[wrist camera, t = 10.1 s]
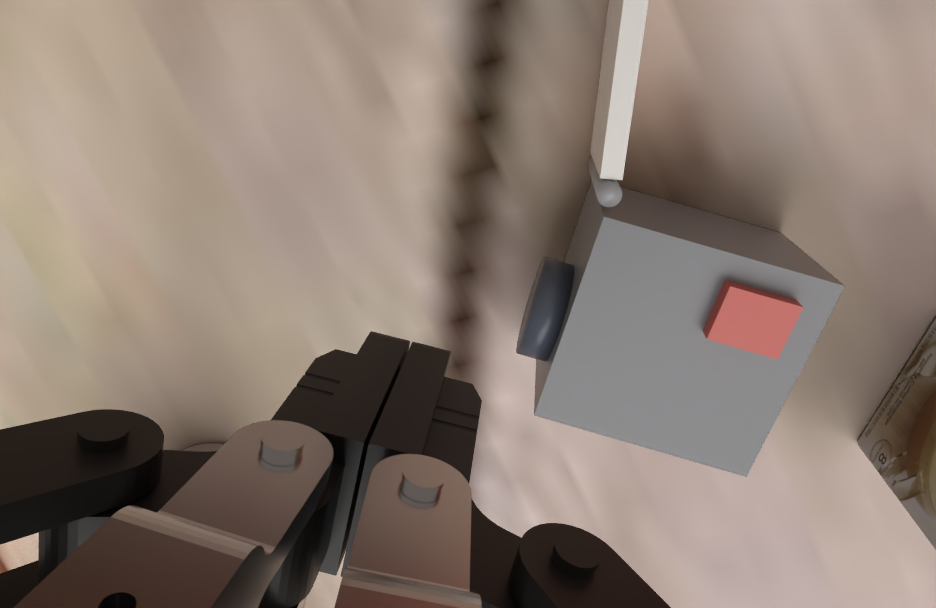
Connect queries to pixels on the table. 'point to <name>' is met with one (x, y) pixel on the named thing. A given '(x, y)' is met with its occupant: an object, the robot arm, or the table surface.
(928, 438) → the coffee box
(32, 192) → the table surface
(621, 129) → the side door
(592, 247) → the block
